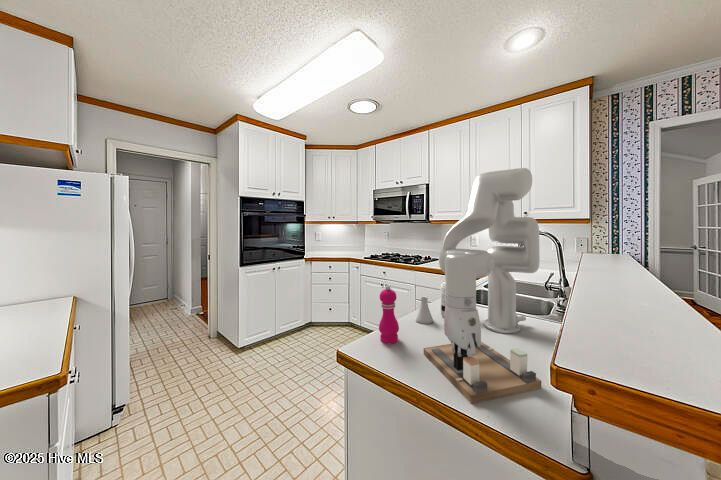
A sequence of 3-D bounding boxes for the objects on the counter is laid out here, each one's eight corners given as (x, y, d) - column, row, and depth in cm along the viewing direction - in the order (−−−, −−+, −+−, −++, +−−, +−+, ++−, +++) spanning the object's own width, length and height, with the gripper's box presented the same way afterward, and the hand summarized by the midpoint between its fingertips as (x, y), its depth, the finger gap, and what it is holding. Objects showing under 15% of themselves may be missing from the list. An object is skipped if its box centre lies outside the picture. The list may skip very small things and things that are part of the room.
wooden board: (423, 354, 86) (423, 342, 86) (478, 345, 91) (478, 333, 90) (471, 403, 63) (471, 387, 62) (541, 388, 67) (541, 373, 67)
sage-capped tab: (510, 369, 71) (510, 349, 71) (517, 367, 72) (518, 348, 72) (519, 375, 69) (519, 355, 68) (527, 374, 69) (527, 353, 69)
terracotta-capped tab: (463, 377, 68) (463, 357, 68) (471, 376, 69) (471, 356, 68) (470, 384, 65) (470, 363, 65) (479, 383, 66) (479, 362, 66)
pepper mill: (398, 345, 93) (397, 288, 91) (377, 343, 94) (376, 287, 93) (399, 335, 100) (398, 282, 98) (380, 334, 101) (378, 282, 100)
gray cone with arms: (430, 325, 108) (430, 301, 107) (413, 322, 112) (412, 299, 111) (435, 319, 114) (435, 296, 114) (419, 316, 118) (418, 294, 117)
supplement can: (438, 313, 121) (438, 280, 120) (457, 313, 121) (457, 280, 120) (443, 320, 113) (443, 285, 112) (463, 319, 113) (463, 284, 112)
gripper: (493, 308, 64) (492, 382, 65) (456, 291, 78) (456, 352, 80) (465, 311, 62) (465, 387, 63) (433, 294, 76) (433, 356, 78)
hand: (460, 368), depth 71 cm, fingers closed
